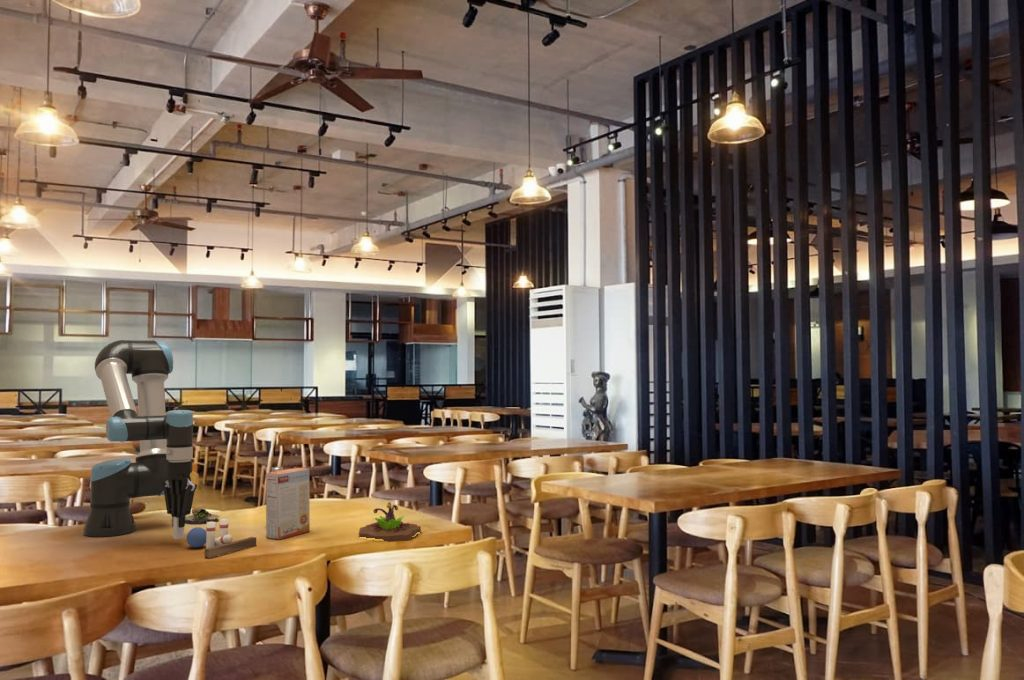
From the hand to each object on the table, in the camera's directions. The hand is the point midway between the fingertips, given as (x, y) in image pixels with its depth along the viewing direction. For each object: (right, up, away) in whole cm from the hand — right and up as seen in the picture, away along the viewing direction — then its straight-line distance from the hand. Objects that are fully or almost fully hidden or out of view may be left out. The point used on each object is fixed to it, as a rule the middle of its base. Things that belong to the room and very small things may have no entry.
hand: (178, 537), depth 246 cm
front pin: (+12, -1, -6) cm, 13 cm away
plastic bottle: (+22, -3, +27) cm, 35 cm away
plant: (+63, -3, +13) cm, 64 cm away
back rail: (+20, -2, -10) cm, 22 cm away
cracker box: (+30, -3, +13) cm, 33 cm away
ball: (+8, +1, -5) cm, 9 cm away
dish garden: (-7, -4, +36) cm, 36 cm away
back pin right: (+14, -2, -10) cm, 17 cm away
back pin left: (+16, -2, -5) cm, 17 cm away
